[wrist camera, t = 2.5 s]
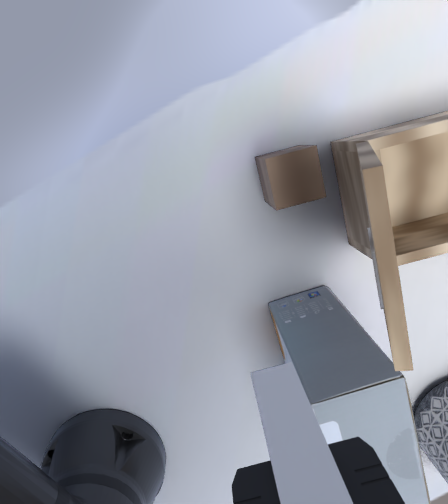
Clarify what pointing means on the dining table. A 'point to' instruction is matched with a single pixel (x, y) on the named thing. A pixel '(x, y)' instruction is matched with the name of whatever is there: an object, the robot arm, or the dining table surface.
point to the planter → (434, 427)
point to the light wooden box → (401, 186)
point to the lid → (384, 255)
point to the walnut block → (291, 176)
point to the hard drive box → (351, 384)
